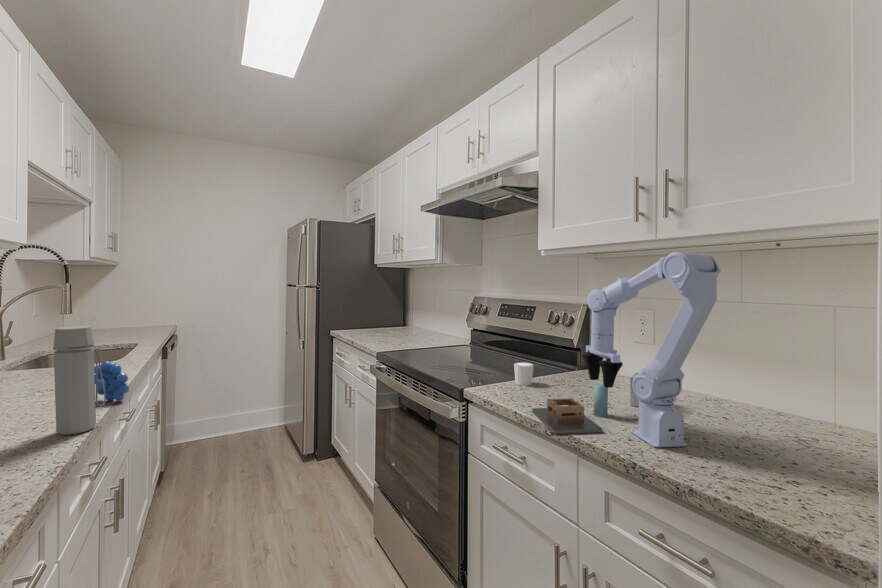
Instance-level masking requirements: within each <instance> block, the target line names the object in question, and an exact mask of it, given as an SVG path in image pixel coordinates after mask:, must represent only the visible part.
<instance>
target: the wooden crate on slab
mask: <svg viewBox="0 0 882 588" xmlns="http://www.w3.org/2000/svg"><path fill="white" fill-rule="evenodd" d="M546 404H547V405H546V407H538V408H537V407H536V408H535V407H534V408H532V410H531V411H532V414H534V415H535V416H536V417H537V418H538V419H539V420H540V421H541V423H543V424H544V425H545V426H546V428H548V429H549V430H550V431H551V432H552V433H553V434H554V435H577V434H578V435H579V434H581V435H583V434H602V433H603V428H602V427H600V426H599V425H598V424H597V423H595V422H594V421H593V420H592V419H590V418H589V417H587V416H586V415H585V406H584V405H582V404H581V403H580V402H579V401H578V400H575V399H574V398H572V397H571V398H570V397H569V398H547V399H546Z"/></svg>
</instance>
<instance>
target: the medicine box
mask: <svg viewBox="0 0 882 588" xmlns="http://www.w3.org/2000/svg"><path fill="white" fill-rule="evenodd" d="M639 373H640V372H635V374H633V375H632V376H631V377H630V381H629V406H632V407H635V408H636V407H637V408H639V400H638V399H637V396H636V395H635V393H634V391H633V388H632V381H633V379H634V377H635V376H636V375H638V374H639Z"/></svg>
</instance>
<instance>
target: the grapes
mask: <svg viewBox="0 0 882 588" xmlns="http://www.w3.org/2000/svg"><path fill="white" fill-rule="evenodd" d="M100 366H101V371H102V377H103V382H104V388H105V393H106V399H105V401H107V402H108V401H109V402H112V400H113V401H114V400H115V401H118V402H119V401H122V400H123V399H124V398H125V394H127V393H128V392H129V391H130V386H129V385H128V384H127V382H128V380H129V377H128V375H127V374H126V373H125V372H122V366H121V365H120V364H117V363H112V362H110V361H109V360H108V361H107V360H104V361H102V362H100ZM94 373H95V385H96V365H94ZM97 387H98V395H100V396H102V395H103V396H104V390H103V384H102V379H101V373H100V367H99V364H97Z"/></svg>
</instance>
